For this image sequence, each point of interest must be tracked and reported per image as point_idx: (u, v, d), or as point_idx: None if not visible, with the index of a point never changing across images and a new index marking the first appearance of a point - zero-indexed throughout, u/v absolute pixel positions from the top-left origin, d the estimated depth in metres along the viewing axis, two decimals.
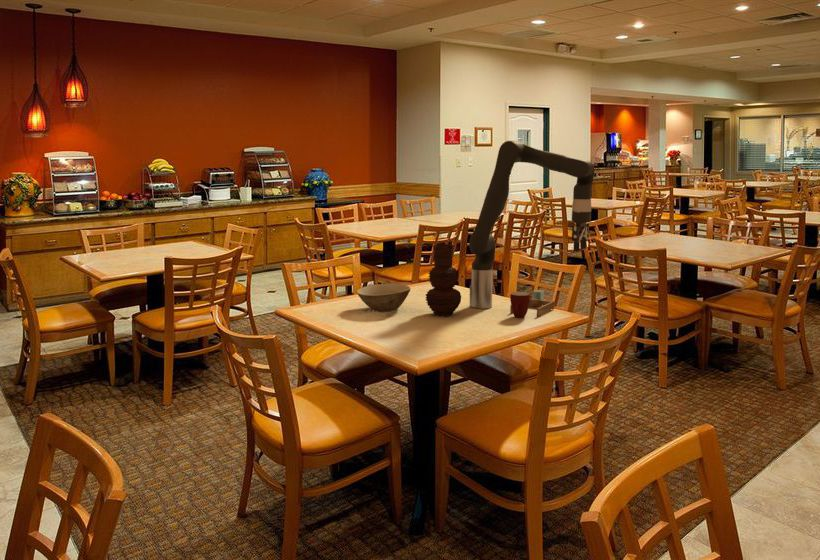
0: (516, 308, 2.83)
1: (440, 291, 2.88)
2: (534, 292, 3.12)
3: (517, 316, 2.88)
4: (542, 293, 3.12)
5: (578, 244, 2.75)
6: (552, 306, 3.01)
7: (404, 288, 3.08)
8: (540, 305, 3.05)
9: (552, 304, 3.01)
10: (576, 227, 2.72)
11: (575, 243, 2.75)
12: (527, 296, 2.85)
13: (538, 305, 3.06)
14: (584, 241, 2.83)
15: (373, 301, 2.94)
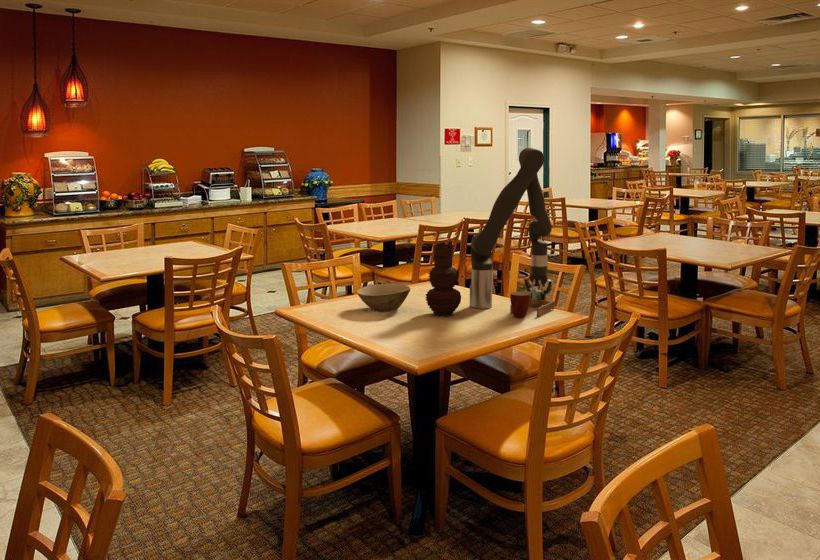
0: (516, 308, 2.83)
1: (440, 291, 2.88)
2: (534, 292, 3.12)
3: (517, 316, 2.88)
4: None
5: None
6: (552, 306, 3.01)
7: (404, 288, 3.08)
8: (540, 305, 3.05)
9: (552, 304, 3.01)
10: (552, 282, 3.09)
11: (544, 295, 3.12)
12: (527, 296, 2.85)
13: (538, 305, 3.06)
14: None
15: (373, 301, 2.94)
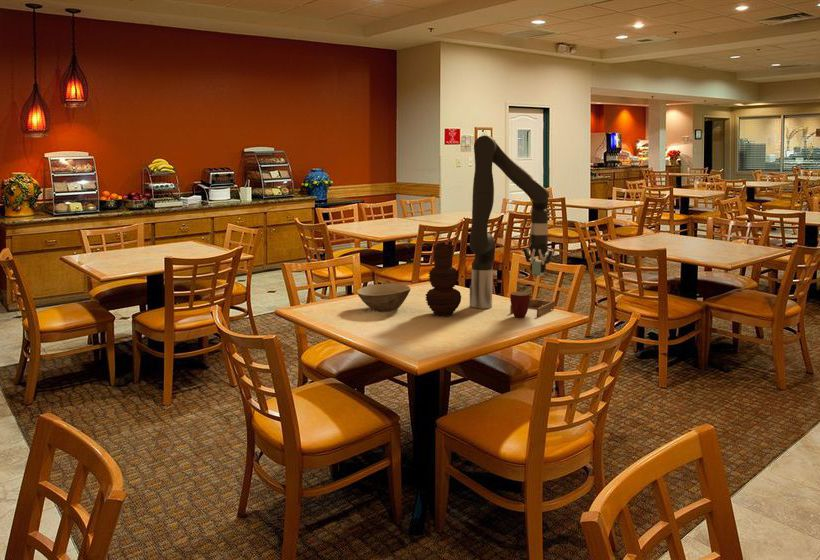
0: (516, 308, 2.83)
1: (440, 291, 2.88)
2: (534, 262, 2.99)
3: (517, 316, 2.88)
4: None
5: None
6: (552, 306, 3.01)
7: (404, 288, 3.08)
8: (540, 305, 3.05)
9: (552, 304, 3.01)
10: (553, 251, 2.96)
11: (545, 265, 2.98)
12: (527, 296, 2.85)
13: (538, 305, 3.06)
14: None
15: (373, 301, 2.94)
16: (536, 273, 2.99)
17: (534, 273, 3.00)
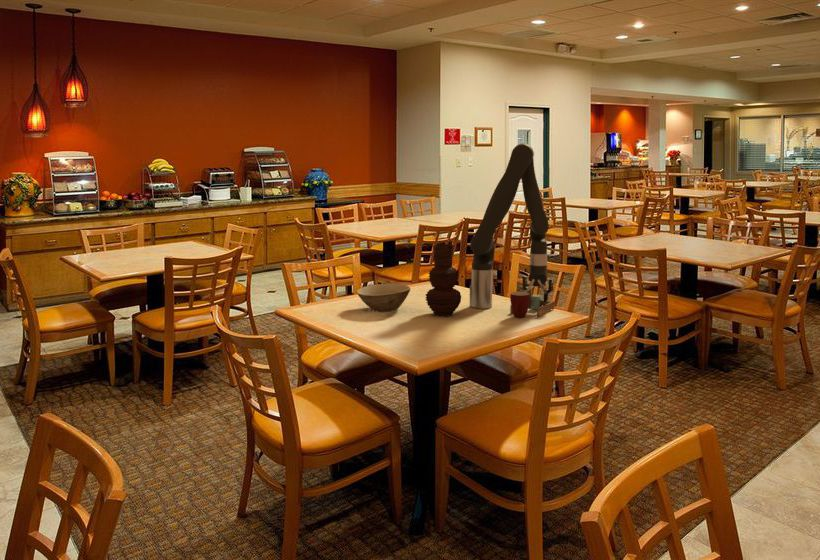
0: (516, 308, 2.83)
1: (440, 291, 2.88)
2: (533, 297, 3.02)
3: (517, 316, 2.88)
4: (541, 298, 3.02)
5: None
6: (552, 306, 3.01)
7: (404, 288, 3.08)
8: None
9: (552, 304, 3.01)
10: (552, 280, 2.98)
11: (547, 294, 3.00)
12: (527, 296, 2.85)
13: None
14: (530, 292, 3.05)
15: (373, 301, 2.94)
16: (535, 308, 3.02)
17: (533, 308, 3.03)
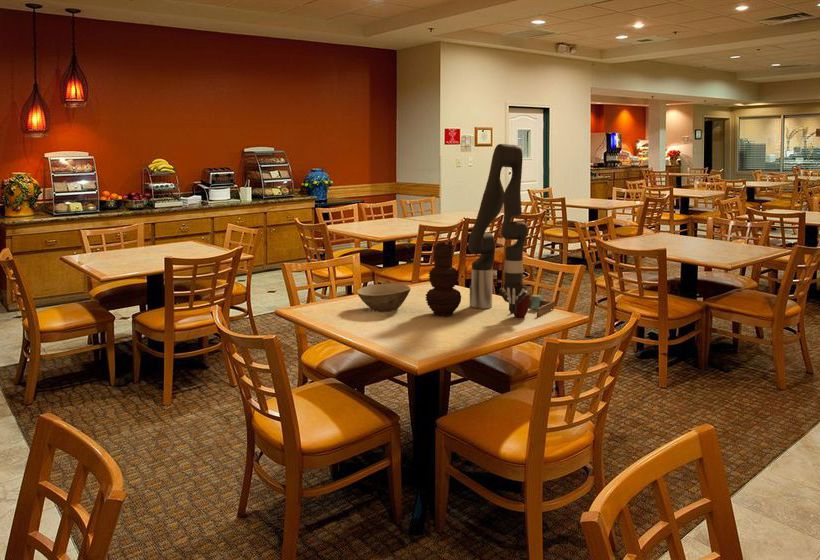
0: None
1: (440, 291, 2.88)
2: (533, 297, 3.02)
3: (517, 316, 2.88)
4: (541, 298, 3.02)
5: None
6: (552, 306, 3.01)
7: (404, 288, 3.08)
8: None
9: (552, 304, 3.01)
10: (527, 293, 2.78)
11: (515, 305, 2.81)
12: (527, 296, 2.85)
13: None
14: None
15: (373, 301, 2.94)
16: (535, 308, 3.02)
17: (533, 308, 3.03)
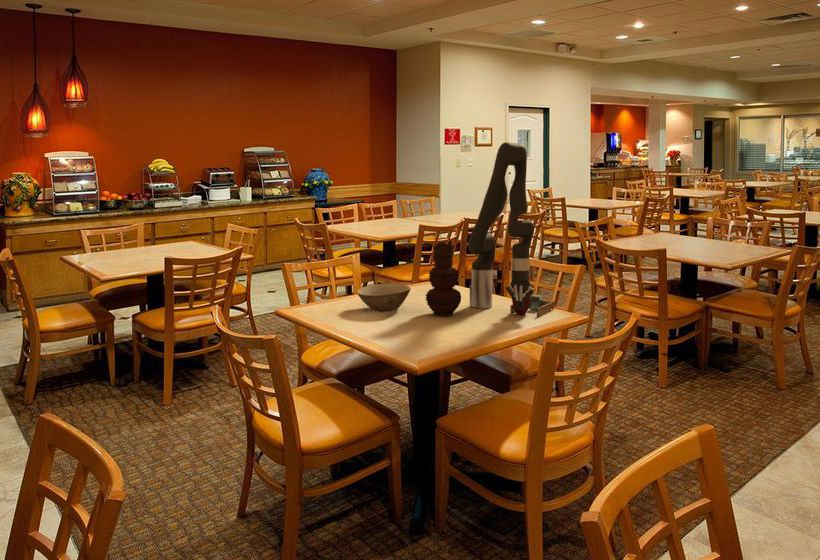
0: (524, 305, 2.87)
1: (440, 291, 2.88)
2: (533, 297, 3.02)
3: (520, 313, 2.92)
4: (541, 298, 3.02)
5: None
6: (552, 306, 3.01)
7: (404, 288, 3.08)
8: None
9: (552, 304, 3.01)
10: (534, 290, 2.83)
11: (522, 302, 2.86)
12: None
13: None
14: None
15: (373, 301, 2.94)
16: (535, 308, 3.02)
17: (533, 308, 3.03)
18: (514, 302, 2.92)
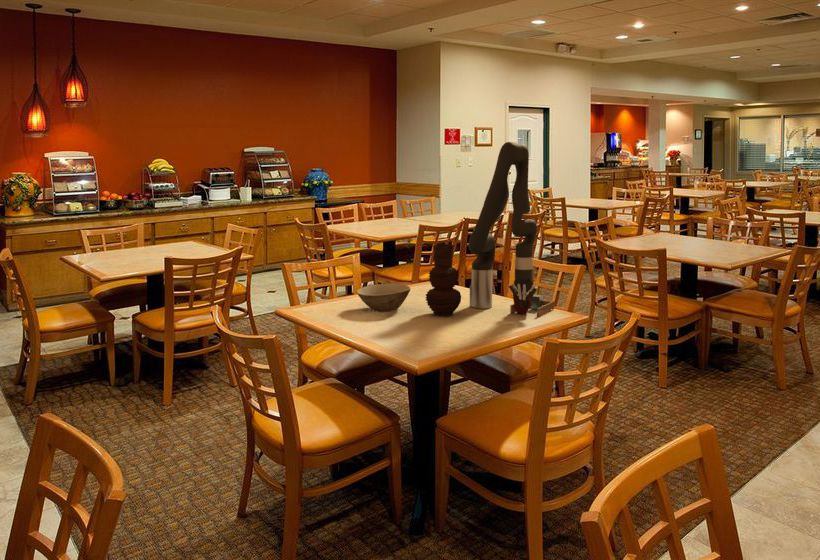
0: (529, 304, 2.89)
1: (440, 291, 2.88)
2: (533, 297, 3.02)
3: (523, 312, 2.94)
4: (541, 298, 3.02)
5: None
6: (552, 306, 3.01)
7: (404, 288, 3.08)
8: None
9: (552, 304, 3.01)
10: (537, 289, 2.85)
11: (526, 300, 2.88)
12: None
13: None
14: None
15: (373, 301, 2.94)
16: (535, 308, 3.02)
17: (533, 308, 3.03)
18: (517, 301, 2.92)
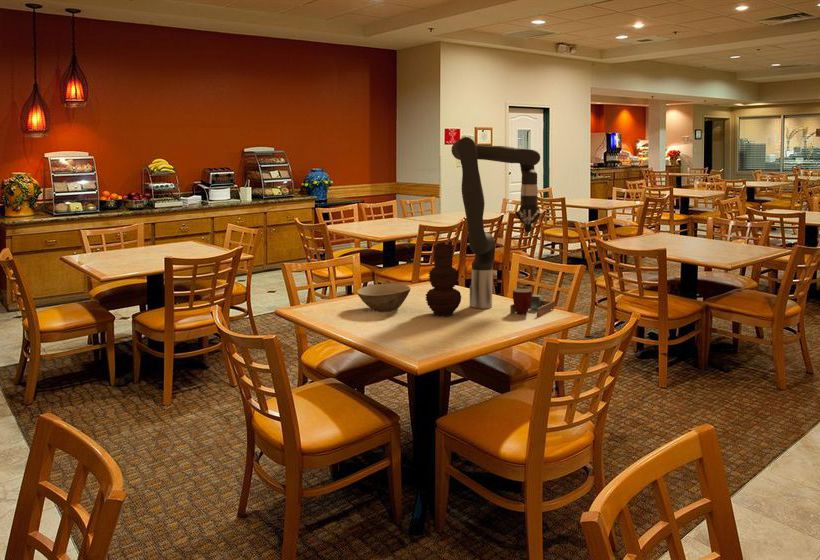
0: (529, 304, 2.89)
1: (440, 291, 2.88)
2: (533, 297, 3.02)
3: (523, 313, 2.94)
4: (541, 298, 3.02)
5: None
6: (552, 306, 3.01)
7: (404, 288, 3.08)
8: None
9: (552, 304, 3.01)
10: (541, 214, 3.10)
11: (530, 225, 3.13)
12: (531, 292, 2.94)
13: None
14: None
15: (373, 301, 2.94)
16: (535, 308, 3.02)
17: (533, 308, 3.03)
18: (517, 302, 2.92)
